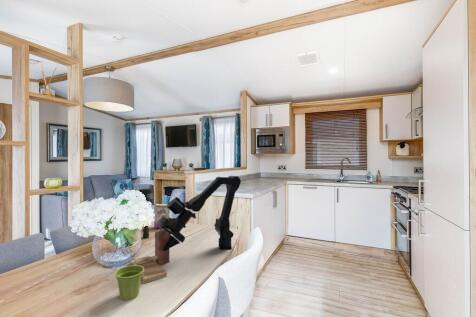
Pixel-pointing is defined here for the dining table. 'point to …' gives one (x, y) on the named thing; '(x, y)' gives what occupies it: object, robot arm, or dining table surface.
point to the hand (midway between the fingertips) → (159, 247)
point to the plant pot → (129, 281)
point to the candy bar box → (161, 214)
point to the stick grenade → (149, 197)
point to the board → (150, 270)
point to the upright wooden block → (158, 249)
